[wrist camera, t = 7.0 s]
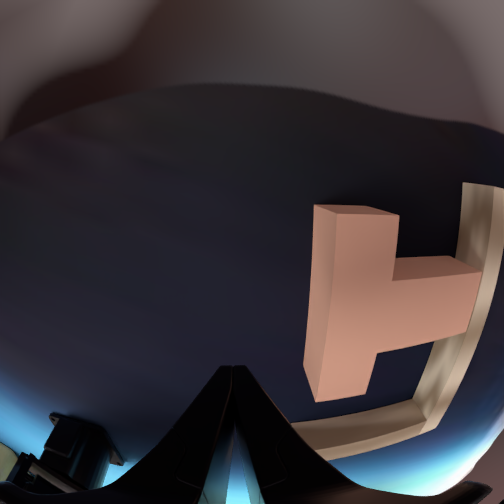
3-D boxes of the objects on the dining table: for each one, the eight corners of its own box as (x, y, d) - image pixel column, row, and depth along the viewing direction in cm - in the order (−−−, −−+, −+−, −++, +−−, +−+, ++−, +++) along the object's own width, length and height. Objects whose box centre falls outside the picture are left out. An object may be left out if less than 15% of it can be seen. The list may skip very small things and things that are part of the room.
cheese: (68, 504, 27) (53, 552, 12) (35, 489, 26) (18, 531, 12) (14, 449, 21) (-17, 508, 7) (-18, 429, 20) (-49, 478, 6)
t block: (427, 344, 17) (451, 369, 14) (303, 365, 17) (315, 402, 13) (453, 211, 14) (489, 220, 11) (313, 204, 14) (337, 213, 11)
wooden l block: (421, 407, 19) (435, 428, 16) (288, 437, 19) (294, 465, 16) (479, 185, 14) (509, 190, 11) (309, 164, 13) (327, 162, 10)
